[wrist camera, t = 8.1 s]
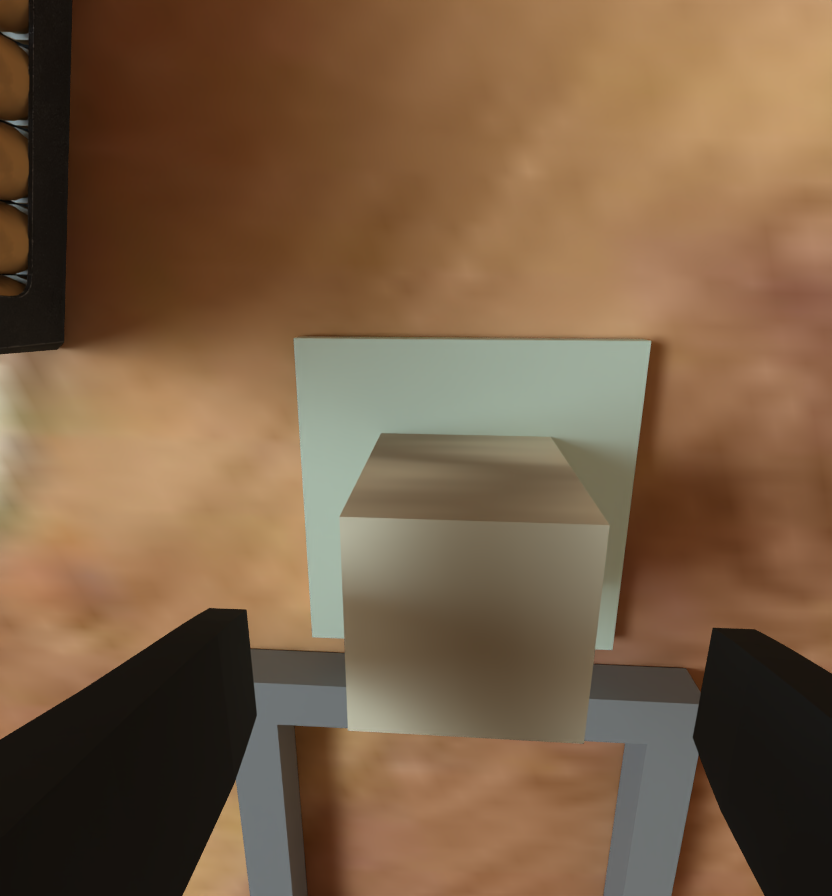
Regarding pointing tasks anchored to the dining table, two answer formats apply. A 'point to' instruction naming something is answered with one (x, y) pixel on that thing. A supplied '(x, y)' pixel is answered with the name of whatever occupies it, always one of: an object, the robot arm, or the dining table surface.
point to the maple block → (470, 589)
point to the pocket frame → (608, 720)
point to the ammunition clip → (33, 171)
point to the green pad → (465, 426)
